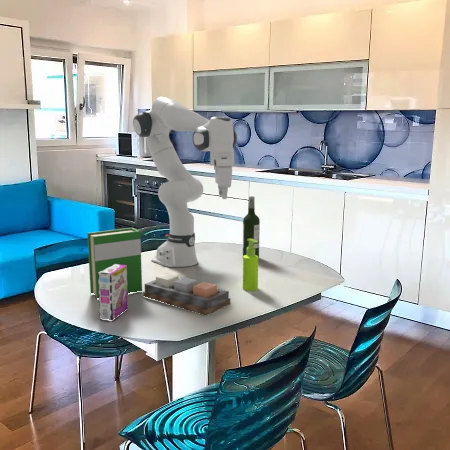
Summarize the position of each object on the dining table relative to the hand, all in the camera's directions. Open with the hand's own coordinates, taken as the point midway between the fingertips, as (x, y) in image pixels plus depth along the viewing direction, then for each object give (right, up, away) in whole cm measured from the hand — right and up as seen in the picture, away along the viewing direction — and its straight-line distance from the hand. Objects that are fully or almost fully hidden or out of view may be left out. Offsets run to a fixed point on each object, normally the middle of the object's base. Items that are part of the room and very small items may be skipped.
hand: (222, 197), depth 185 cm
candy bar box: (-36, -41, -20) cm, 59 cm away
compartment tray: (-14, -38, -7) cm, 41 cm away
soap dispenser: (+11, -36, +6) cm, 38 cm away
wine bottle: (+13, -27, +51) cm, 59 cm away
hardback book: (-40, -37, +1) cm, 55 cm away
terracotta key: (-6, -35, -13) cm, 38 cm away
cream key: (-21, -33, -2) cm, 39 cm away
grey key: (-14, -34, -7) cm, 37 cm away
